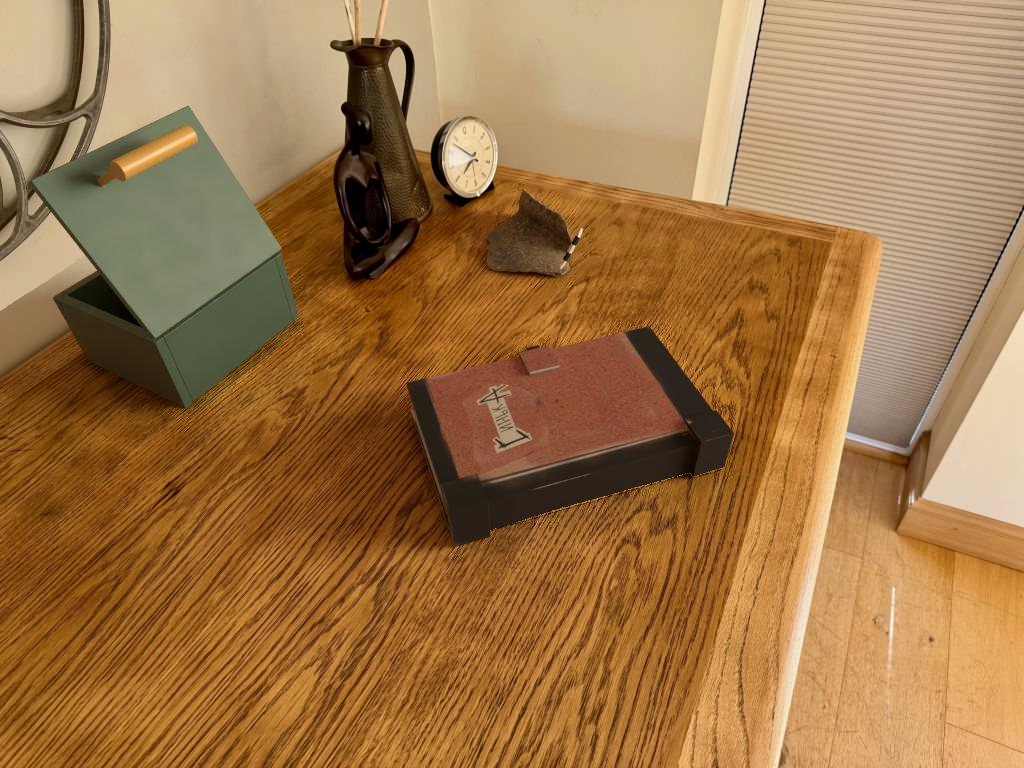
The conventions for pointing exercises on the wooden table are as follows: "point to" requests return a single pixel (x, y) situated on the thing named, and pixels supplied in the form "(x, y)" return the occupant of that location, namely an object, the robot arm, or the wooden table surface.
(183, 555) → the wooden table surface
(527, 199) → the pottery fragment
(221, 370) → the chest
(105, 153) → the lid
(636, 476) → the red and black box
